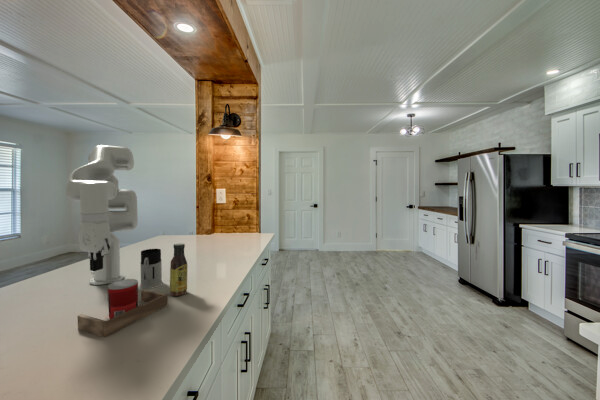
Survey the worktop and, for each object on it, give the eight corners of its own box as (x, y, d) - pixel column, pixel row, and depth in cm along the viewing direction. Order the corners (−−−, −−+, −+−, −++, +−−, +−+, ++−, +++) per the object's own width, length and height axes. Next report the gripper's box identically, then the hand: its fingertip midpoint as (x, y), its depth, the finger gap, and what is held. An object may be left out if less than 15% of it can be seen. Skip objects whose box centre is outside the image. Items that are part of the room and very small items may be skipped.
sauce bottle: (180, 297, 97) (179, 246, 96) (166, 296, 98) (165, 245, 97) (191, 291, 103) (190, 243, 103) (177, 289, 104) (177, 242, 104)
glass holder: (164, 280, 115) (164, 247, 115) (157, 292, 102) (157, 255, 101) (142, 282, 113) (142, 249, 112) (132, 294, 99) (131, 257, 99)
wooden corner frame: (77, 329, 75) (77, 315, 74) (143, 300, 94) (143, 289, 94) (105, 337, 70) (105, 323, 70) (167, 305, 90) (167, 294, 90)
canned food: (143, 313, 84) (142, 281, 83) (115, 324, 77) (114, 289, 77) (131, 308, 88) (130, 277, 87) (104, 318, 81) (103, 284, 80)
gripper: (68, 217, 85) (70, 269, 87) (97, 221, 80) (99, 277, 82) (92, 214, 92) (94, 263, 94) (121, 218, 87) (122, 269, 89)
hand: (96, 269), depth 88 cm, fingers closed
